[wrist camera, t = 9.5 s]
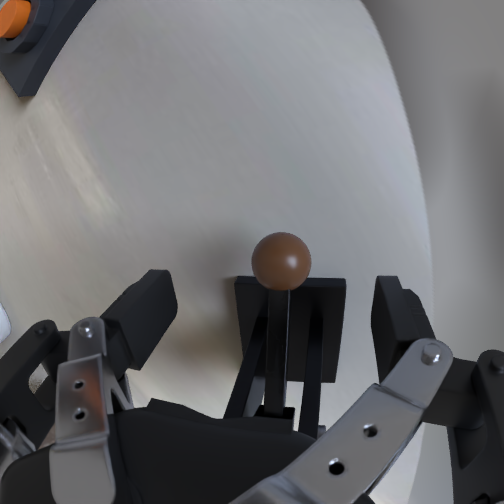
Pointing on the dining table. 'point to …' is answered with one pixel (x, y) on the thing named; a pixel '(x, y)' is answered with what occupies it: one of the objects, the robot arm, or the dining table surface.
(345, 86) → the dining table surface
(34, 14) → the button base
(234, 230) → the dining table surface
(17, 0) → the button
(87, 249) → the dining table surface
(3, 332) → the mug
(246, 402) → the switch bracket
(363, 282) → the dining table surface
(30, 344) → the robot arm
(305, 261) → the ball-knob lever
